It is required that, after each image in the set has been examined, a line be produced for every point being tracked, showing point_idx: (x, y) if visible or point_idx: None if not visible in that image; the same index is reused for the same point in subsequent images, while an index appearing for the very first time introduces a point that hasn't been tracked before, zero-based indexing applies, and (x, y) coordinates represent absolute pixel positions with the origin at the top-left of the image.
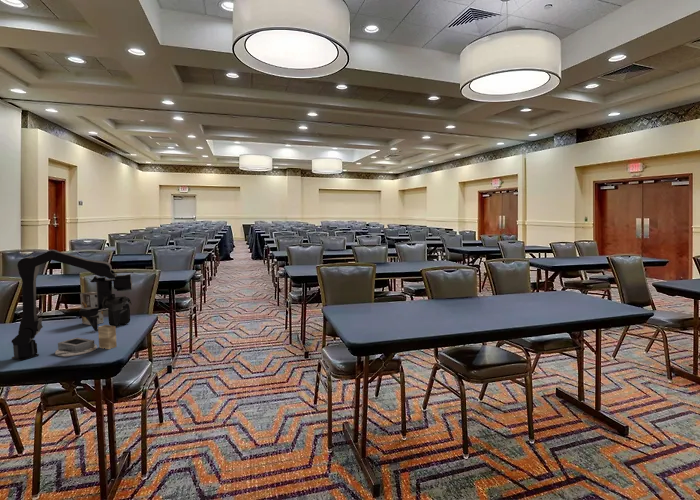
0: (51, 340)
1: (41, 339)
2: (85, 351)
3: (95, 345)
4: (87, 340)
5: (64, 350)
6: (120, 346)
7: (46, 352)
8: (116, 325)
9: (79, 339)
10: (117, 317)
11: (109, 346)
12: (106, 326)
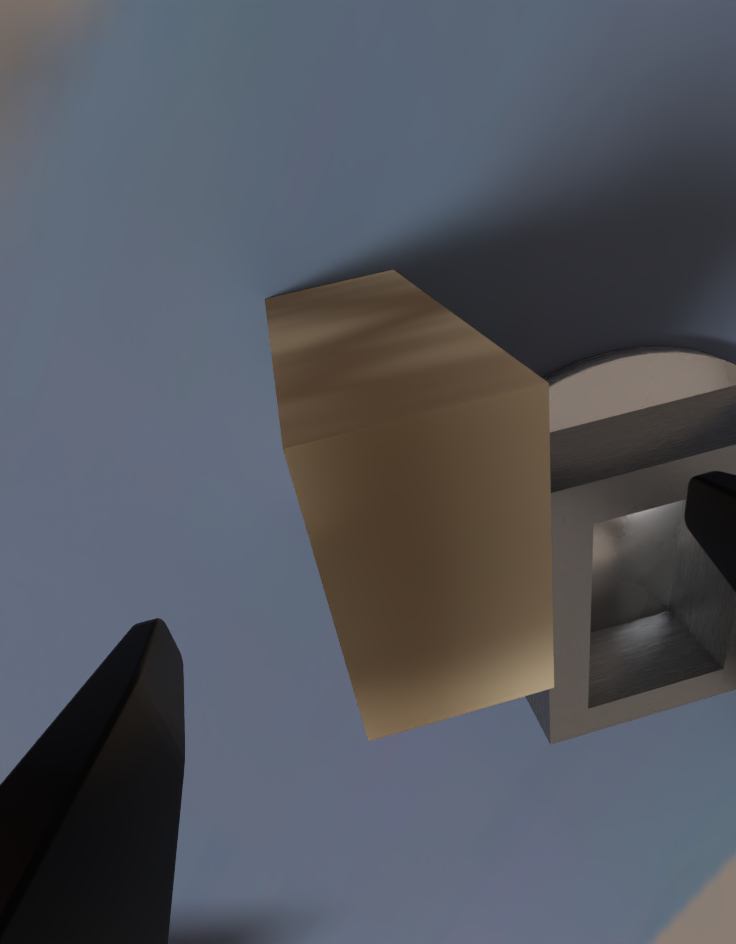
0: (509, 889)
1: (525, 928)
2: (654, 358)
3: None
4: (584, 556)
5: None
6: (216, 262)
7: None
8: (166, 626)
9: (588, 664)
10: (72, 856)
11: (393, 278)
12: (447, 597)
